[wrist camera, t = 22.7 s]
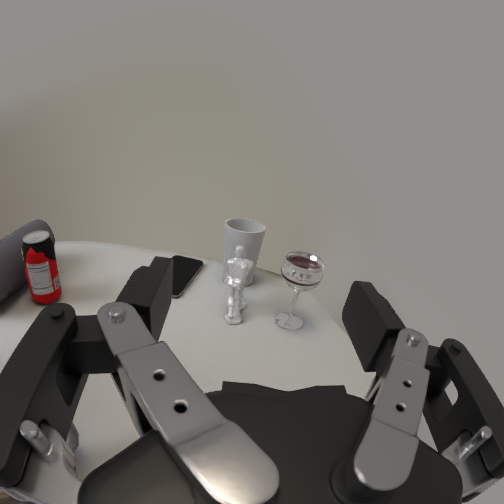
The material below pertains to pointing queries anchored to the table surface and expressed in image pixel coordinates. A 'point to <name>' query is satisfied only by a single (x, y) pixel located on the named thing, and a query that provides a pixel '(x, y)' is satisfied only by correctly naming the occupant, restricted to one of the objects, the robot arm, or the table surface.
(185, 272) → the smartphone
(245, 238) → the cup
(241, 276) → the figurine
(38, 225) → the bluetooth speaker
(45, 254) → the beverage can
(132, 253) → the table surface
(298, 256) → the wineglass
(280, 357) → the table surface
